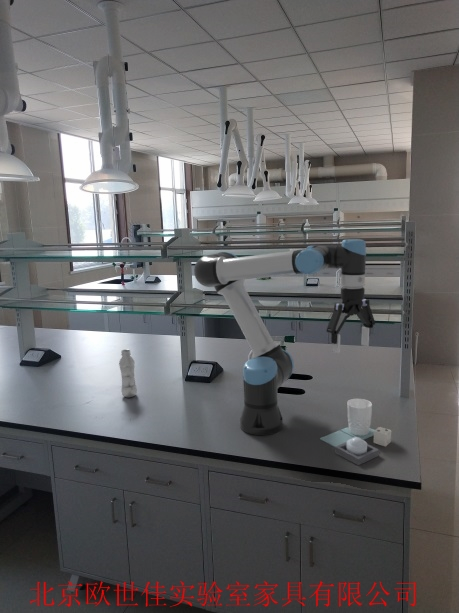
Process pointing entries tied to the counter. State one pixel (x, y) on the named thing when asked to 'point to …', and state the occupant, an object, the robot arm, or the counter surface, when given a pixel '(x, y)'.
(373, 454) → the frame
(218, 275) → the robot arm
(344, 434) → the tile
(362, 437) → the tile
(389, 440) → the die
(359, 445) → the dome
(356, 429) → the white cup
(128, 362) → the plastic bottle
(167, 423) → the counter surface
